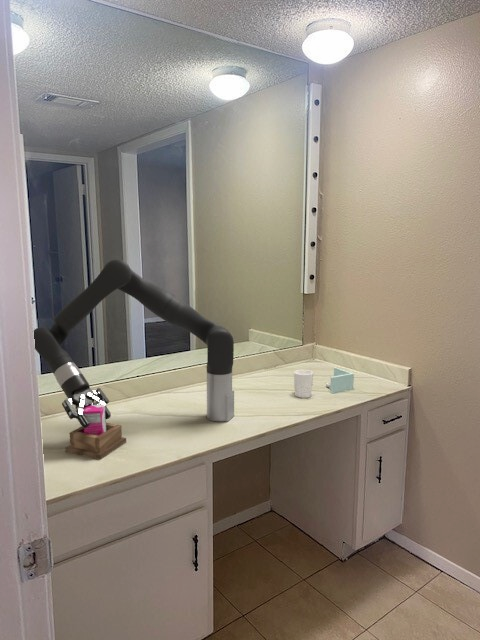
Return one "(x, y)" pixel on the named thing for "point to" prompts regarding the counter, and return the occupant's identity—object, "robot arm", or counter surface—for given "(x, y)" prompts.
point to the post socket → (96, 442)
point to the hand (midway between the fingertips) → (98, 422)
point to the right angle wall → (341, 381)
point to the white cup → (303, 383)
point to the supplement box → (95, 419)
